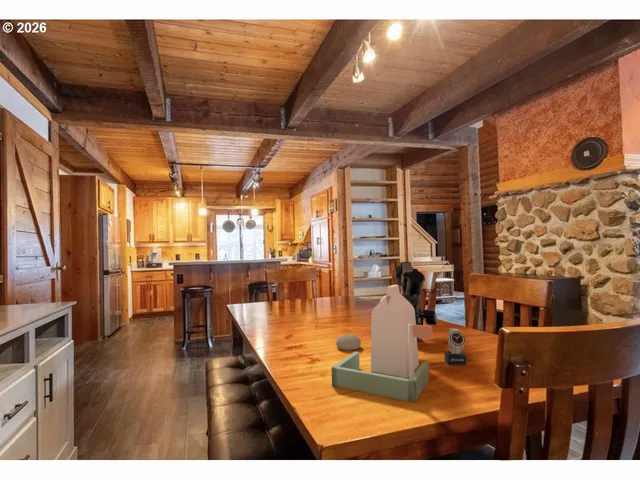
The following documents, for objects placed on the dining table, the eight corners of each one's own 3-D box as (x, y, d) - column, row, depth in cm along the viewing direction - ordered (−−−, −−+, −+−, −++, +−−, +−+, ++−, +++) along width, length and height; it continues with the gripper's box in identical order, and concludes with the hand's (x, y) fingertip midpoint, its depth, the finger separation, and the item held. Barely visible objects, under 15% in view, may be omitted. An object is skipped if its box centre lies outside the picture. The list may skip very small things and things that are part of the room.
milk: (407, 378, 101) (404, 288, 101) (370, 371, 107) (368, 287, 107) (418, 365, 111) (416, 284, 111) (384, 359, 117) (383, 283, 117)
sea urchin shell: (362, 346, 126) (346, 331, 127) (347, 361, 127) (331, 345, 128) (364, 340, 135) (349, 325, 136) (350, 353, 136) (335, 338, 137)
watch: (450, 367, 109) (449, 332, 109) (443, 358, 117) (442, 326, 117) (468, 367, 108) (467, 332, 108) (460, 358, 116) (459, 326, 116)
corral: (355, 367, 110) (353, 307, 111) (445, 382, 97) (443, 314, 97) (331, 385, 96) (330, 317, 97) (433, 406, 83) (431, 327, 83)
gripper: (382, 284, 128) (372, 320, 119) (434, 286, 119) (428, 325, 109) (390, 302, 135) (381, 337, 125) (439, 305, 126) (434, 344, 116)
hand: (404, 335), depth 119 cm, fingers closed
